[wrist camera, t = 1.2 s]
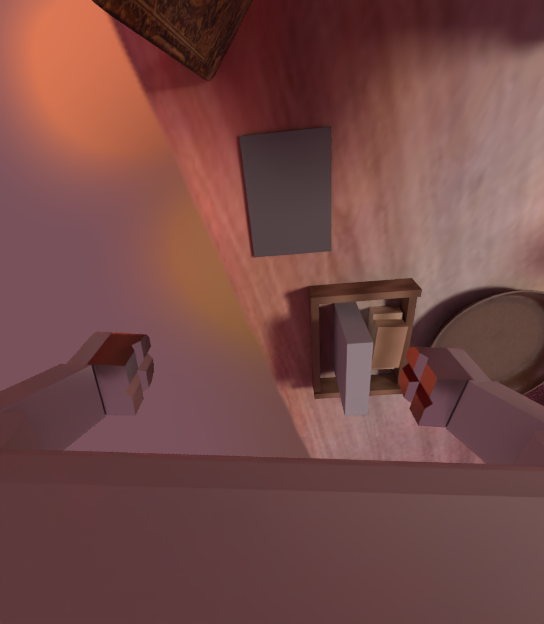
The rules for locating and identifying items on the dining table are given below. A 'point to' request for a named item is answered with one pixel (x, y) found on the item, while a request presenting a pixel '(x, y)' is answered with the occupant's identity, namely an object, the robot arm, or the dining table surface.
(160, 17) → the book
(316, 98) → the dining table surface
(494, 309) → the plant saucer
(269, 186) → the mat
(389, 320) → the offcut short
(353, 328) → the block
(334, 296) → the brown open frame piece
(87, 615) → the robot arm
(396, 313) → the block
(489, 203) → the dining table surface
